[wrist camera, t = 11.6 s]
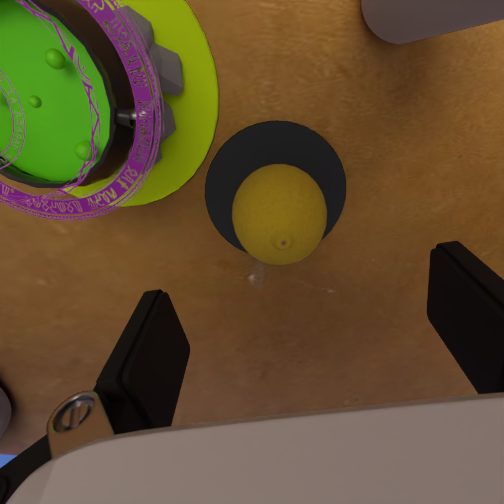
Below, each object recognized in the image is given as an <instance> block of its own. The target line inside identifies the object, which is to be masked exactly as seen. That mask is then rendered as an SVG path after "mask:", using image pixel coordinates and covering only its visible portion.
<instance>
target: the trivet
mask: <svg viewBox="0 0 504 504" xmlns="http://www.w3.org/2000/svg"><path fill="white" fill-rule="evenodd" d="M272 164H286V165H290V166H294V167H297V168H299V169H300V170H302V171H304V172H306V173H307V174H308V175H309V176H310V177H311V178H312V179H313V180H314V181H315V182H316V183H317V184H318V186H319V188H320V190H321V192H322V193H323V196H324V199H325V204H326V208H327V220H326V228H325V231H324V234H323V237H322V239H323V238H324V237H325V236H326V235H327V234H328V233H329V232H330V231H331V230H332V228H333V227H334V225H335V224H336V222H337V220H338V218H339V216H340V214H341V212H342V209H343V206H344V202H345V196H346V179H345V174H344V170H343V167H342V164H341V161H340V159H339V157H338V155H337V154H336V152H335V151H334V149H333V148H332V147H331V145H330V144H329V143H328V142H327V141H326V140H325V139H324V138H323V137H321V136H320V135H319V134H317V133H316V132H315V131H313V130H311V129H309V128H307V127H305V126H303V125H300V124H297V123H293V122H288V121H267V122H262V123H257V124H254V125H252V126H249V127H247V128H245V129H243V130H241V131H239V132H238V133H236V134H235V135H233V136H232V137H231V138H230V139H229V140H228V141H227V142H226V143H224V145H223V146H222V147H221V148H220V150H219V151H218V152H217V154H216V156H215V157H214V159H213V161H212V163H211V165H210V168H209V170H208V174H207V178H206V184H205V199H206V205H207V209H208V213H209V215H210V218H211V220H212V222H213V224H214V225H215V227H216V228H217V230H218V231H219V232H220V234H221V235H222V236H223V237H224V238H225V239H226V240H227V241H228V242H230V243H231V244H232V245H233V246H235V247H237V248H238V249H240V250H242V251H244V252H247V251H246V250H245V249H244V247H243V246H242V245H241V243H240V241H239V239H238V237H237V235H236V233H235V229H234V225H233V221H232V207H233V202H234V199H235V195H236V192H237V190H238V189H239V187H240V186H241V184H242V182H243V181H244V180H245V179H246V178H247V177H248V176H249V175H250V174H251V173H252V172H254V171H256V170H258V169H260V168H262V167H264V166H268V165H272ZM322 239H321V240H322ZM247 253H248V252H247Z"/></svg>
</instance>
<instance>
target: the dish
mask: <svg viewBox="0 0 504 504" xmlns="http://www.w3.org/2000/svg"><path fill="white" fill-rule="evenodd" d="M10 418H11V405H10V402H9V399H8V397H7V395H6V394H5V392H4V391H3V390H2V388H1V387H0V439H1V437H2V435H3V434H4V432H5V430H6V428H7V426H8V424H9V422H10Z"/></svg>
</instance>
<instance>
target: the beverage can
mask: <svg viewBox="0 0 504 504" xmlns="http://www.w3.org/2000/svg"><path fill="white" fill-rule="evenodd" d="M361 5H362V12H363V16H364V19H365V22H366V23H367V25H368V26H369V28H370V29H371V31H372V32H373V33H374V34H376V35H377V36H378V37H379V38H381V39H383V40H385V41H387V42H389V43H394V44H405V43H410V42H414V41H418V40H422V39H426V38H430V37H434V36H438V35H442V34H446V33H450V32H454V31H458V30H462V29H466V28H470V27H474V26H478V25H482V24H486V23H490V22H494V21H498V20H502V19H504V0H361Z"/></svg>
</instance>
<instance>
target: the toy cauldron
mask: <svg viewBox="0 0 504 504" xmlns="http://www.w3.org/2000/svg"><path fill="white" fill-rule="evenodd" d="M218 116H219V87H218V80H217V74H216V67H215V62H214V59H213V56H212V53H211V50H210V47H209V44H208V41H207V38H206V36H205V34H204V32H203V30H202V28H201V26H200V24H199V22H198V20H197V18H196V16H195V15H194V13H193V11H192V9H191V8H190V6H189V5H188V4H187V2H186V1H185V0H0V174H2V175H4V176H5V177H7V178H8V179H11V180H14V181H17V182H21V183H24V184H27V185H30V186H33V187H36V188H60V189H58V190H57V191H59V192H57V193H59V194H51V195H59V196H62V195H64V194H65V195H66V194H67V193H70V194H72V195H74V196H77V197H79V198H80V199H74V200H54V198H53V200H50V199H47V198H51V197H49V196H51V195H48V196H47V197H46V198H45V199H44V198H42V196H43V195H41V196H39V195H37V196H32V195H29V194H26V193H23V192H21V191H18V190H16V189H14V188H12V187H10V186H8V185H6V184H4V183H3V182H1V181H0V183H2V184H0V196H2V197H4V198H6V199H8V200H5V199H2V198H0V199H1V200H2V201H3V200H4V201H6V203H7V202H8V203H10V202H14V203H17V204H19V205H22V206H24V207H27V208H30V209H34V210H37V211H42V212H47V213H53V214H81V213H86V212H90V211H94V210H97V209H100V208H103V207H105V206H107V205H110V207H108V208H106V209H103V210H101V211H98V212H95V213H91V214H87V215H80V216H54V215H48V214H43V213H38V212H34V211H31V210H28V209H25V208H22V207H19V206H17V205H15V204H12V203H10V205H11V204H12V205H14V206H17V207H18V208H21V209H25V211H26V210H28V211H29V212H33V214H31V213H28V212H25V211H22V210H19V209H17V208H14V207H12V206H10V205H8V204H6V203H4V202H2V201H0V202H2V203H4V204H6V205H8V206H10V207H12V208H14V209H17V210H19V211H22V212H25V213H27V214H31V215H34V213H37V214H40V215H44V216H46V215H47V216H48V217H49V216H52V218H47V217H42V218H47V219H53V217H56V218H57V217H59V218H61V217H63V218H65V217H66V218H67V219H68V217H70V218H72V217H74V218H75V217H77V218H79V217H83V216H84V217H86V216H88V217H89V215H92V216H93V214H95V215H96V214H97V213H98V214H99V213H100V212H102V213H103V211H106V210H107V209H108V210H109V208H112V207H113V206H114V207H115V206H117V207H116V208H118V207H119V206H123V207H126V206H135V205H144V204H147V203H150V202H153V201H156V200H159V199H162V198H164V197H165V196H167V195H169V194H171V193H172V192H174V191H176V190H178V189H179V188H180V187H181V186H183V185H184V184H185V183H186V182H187V181H188V180H189V179H190V178H191V177H192V176H193V175H194V174H195V173H196V171H197V170H198V168H199V167H200V166H201V164H202V163H203V161H204V160H205V158H206V156H207V153H208V151H209V149H210V146H211V144H212V142H213V139H214V135H215V130H216V126H217V121H218ZM3 185H5V186H7V187H9V188H10V189H9V192H8V194H7V191H8V188H7V190H6V193H5V194H4V192H5V189H6V187H5V186H4V189H2V188H3ZM15 188H16V187H15ZM11 189H14V192H13V193H12V192H11ZM17 189H18V188H17ZM2 190H3V194H2ZM60 192H62V193H64V194H62V195H60V194H61V193H60ZM52 193H53V192H52ZM54 193H55V191H54ZM6 194H7V196H6ZM31 194H32V193H31ZM48 194H49V193H48ZM34 195H35V194H34ZM46 195H47V194H46ZM26 196H27V197H26ZM43 197H45V196H43ZM77 197H73V198H77ZM33 198H34V199H35V201H36V202H33ZM56 199H57V198H56ZM58 199H68V198H58ZM27 200H30V202H29V201H28V202H26V201H27ZM41 200H42V201H41ZM47 201H48V203H46V202H47ZM72 201H79V204H80V206H81V208H82V211H83V212H80V211H78V209H79V208H80V206H79V204H78V202H77V204H78V206H79V208H78V206H77V204H76V202H73V203H74V204H75V205H76V207H77V208H78V209H77V208H76V207H75V205H74V204H73V203H72ZM89 201H90V203H92V202H95V203H96V205H97V206H98V208H95V207H97V206H96V205H95V203H94V205H95V207H94V205H93V204H91V205H92V207H93V208H95V209H92V207H91V205H90V204H89ZM43 202H44V203H46V205H47V206H48V207H49V208H48V207H47V206H46V205H44V203H43ZM51 202H52V203H53V207H51V209H52V210H53V211H54V212H57V213H54V212H53V211H51V209H50V206H52V203H51ZM55 202H56V208H54V207H55ZM63 202H64V204H65V208H64V209H66V210H65V212H61V211H62V210H63V207H64V204H63ZM65 202H66V203H67V204H69V202H71V203H70V206H71V207H72V208H73V211H72V208H71V207H70V206H69V207H68V205H67V204H66V203H65ZM31 203H32V205H30V204H31ZM33 203H34V204H35V203H36V204H37V203H41V204H40V207H39V204H38V207H39V208H38V207H35V206H36V204H35V206H34V204H33ZM57 203H58V205H59V203H62V205H63V207H62V205H61V204H60V206H61V208H62V210H61V208H60V206H59V208H60V210H61V211H60V210H59V208H58V205H57ZM97 203H98V204H100V205H98V204H97ZM27 204H28V205H30V206H28V205H27ZM43 205H44V206H43ZM101 205H102V206H101ZM42 206H43V207H44V208H45V209H47V208H48V210H47V211H45V210H44V208H43V207H42ZM67 207H68V209H69V210H70V211H72V213H71V212H70V211H69V210H68V209H67ZM81 208H80V210H81ZM116 208H114V209H112V210H110V211H113V210H115V209H116ZM63 211H64V210H63ZM110 211H108V212H106V213H109V212H110ZM106 213H103V214H100V215H97V216H101V215H104V214H106ZM34 216H38V215H34ZM97 216H93V217H89V218H84V219H90V218H94V217H97ZM38 217H41V216H38ZM67 219H66V221H67ZM53 220H65V219H53ZM73 220H83V219H72V221H73ZM68 221H69V219H68ZM70 221H71V219H70Z"/></svg>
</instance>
